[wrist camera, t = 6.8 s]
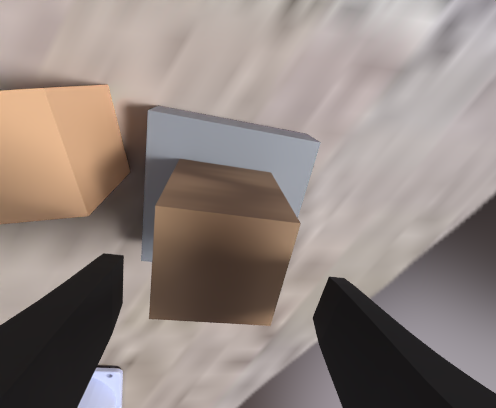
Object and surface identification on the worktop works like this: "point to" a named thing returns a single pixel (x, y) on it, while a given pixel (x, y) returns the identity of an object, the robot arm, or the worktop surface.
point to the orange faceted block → (58, 152)
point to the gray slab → (221, 155)
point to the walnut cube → (220, 245)
